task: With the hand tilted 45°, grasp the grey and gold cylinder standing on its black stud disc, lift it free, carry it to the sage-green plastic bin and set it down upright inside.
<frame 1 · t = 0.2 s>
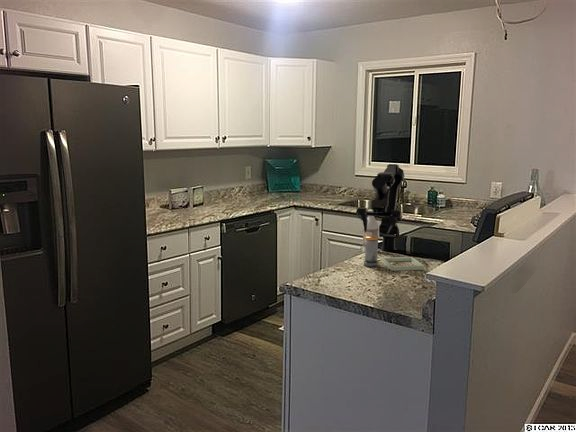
hand: (376, 232, 194), 14 cm above the countertop, tool tilted 35°, fingers open, 9 cm apart
stud: (370, 267, 193), on the countertop
grey and gold cylinder: (370, 265, 193), point 1 cm above the countertop, touching stud
bath foam: (369, 251, 219), on the countertop
bin: (401, 267, 193), on the countertop
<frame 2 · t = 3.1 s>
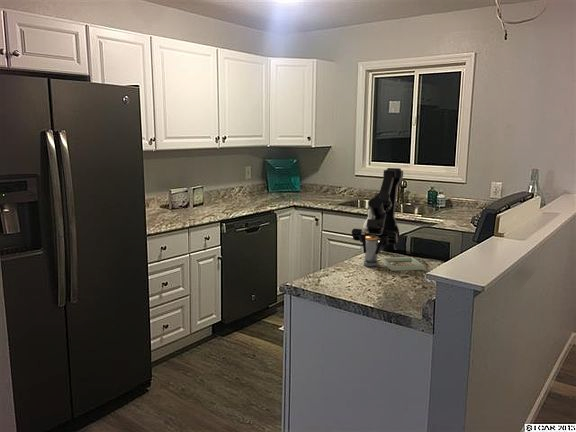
hand: (370, 253, 191), 7 cm above the countertop, tool tilted 45°, fingers closed on grey and gold cylinder, 5 cm apart
grey and gold cylinder: (370, 265, 193), point 1 cm above the countertop, touching gripper, stud
everything else where it was.
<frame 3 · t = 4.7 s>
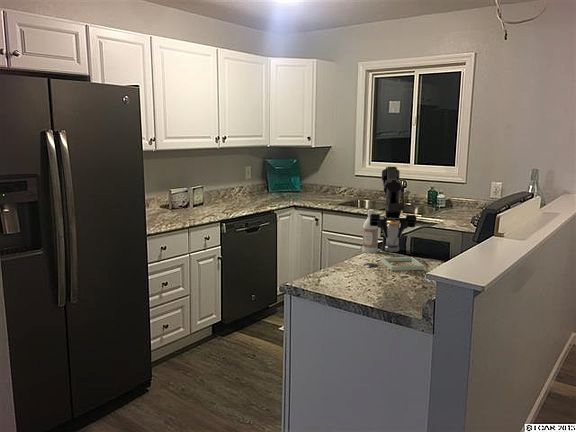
hand: (392, 237, 189), 13 cm above the countertop, tool tilted 45°, fingers closed on grey and gold cylinder, 5 cm apart
grey and gold cylinder: (391, 250, 192), point 8 cm above the countertop, touching gripper
everything else where it was.
when the fingers open (8 cm above the countertop, at t = 6.4 s): grey and gold cylinder drops 2 cm, resting on bin.
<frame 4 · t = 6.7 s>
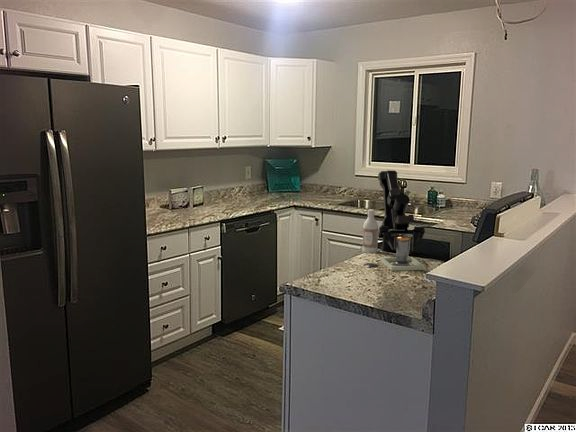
hand: (403, 249, 191), 8 cm above the countertop, tool tilted 45°, fingers open, 8 cm apart
grey and gold cylinder: (401, 265, 193), point 1 cm above the countertop, touching bin
everything else where it was.
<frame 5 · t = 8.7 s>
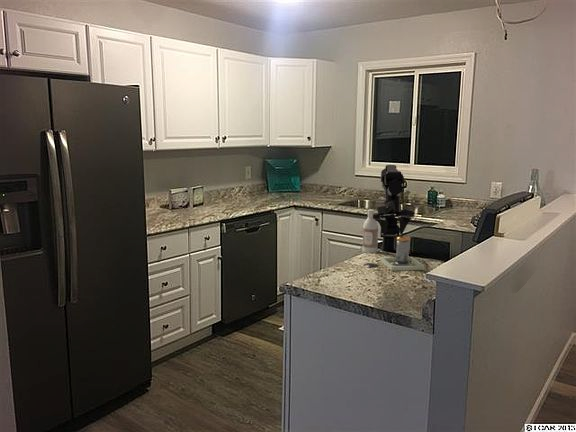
hand: (392, 234, 200), 12 cm above the countertop, tool tilted 20°, fingers open, 9 cm apart
nothing on the countertop moved.
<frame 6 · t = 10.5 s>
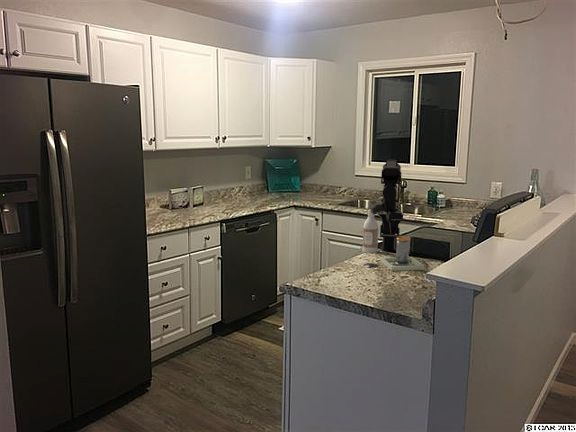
hand: (388, 232, 201), 13 cm above the countertop, tool pointing down, fingers open, 9 cm apart
nothing on the countertop moved.
at the end: grey and gold cylinder inside the target area on the bin (0.1 cm from its centre), point 0.6 cm above the bin's base; grey and gold cylinder tilted 0°; the gripper is holding nothing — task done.
